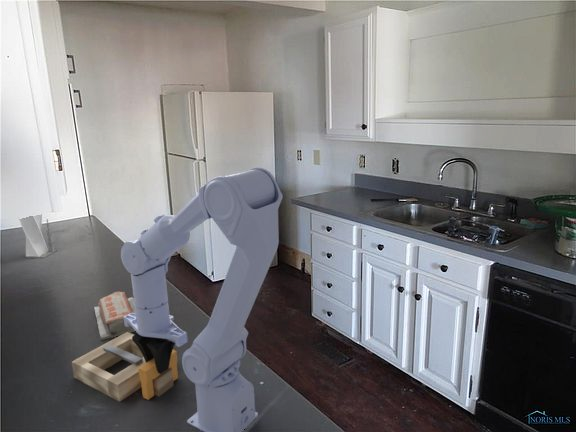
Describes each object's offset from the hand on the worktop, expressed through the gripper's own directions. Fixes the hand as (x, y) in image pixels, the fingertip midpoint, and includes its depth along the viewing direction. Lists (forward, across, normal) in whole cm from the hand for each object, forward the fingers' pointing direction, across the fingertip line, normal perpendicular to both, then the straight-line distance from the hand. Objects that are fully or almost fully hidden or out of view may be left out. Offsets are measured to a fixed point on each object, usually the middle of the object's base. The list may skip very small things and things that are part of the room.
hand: (158, 368), depth 80 cm
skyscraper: (+5, +98, -30) cm, 102 cm away
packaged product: (+5, +31, -14) cm, 34 cm away
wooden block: (+4, 0, 0) cm, 4 cm away
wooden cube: (+5, 0, 0) cm, 5 cm away
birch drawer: (+5, +10, 0) cm, 12 cm away
